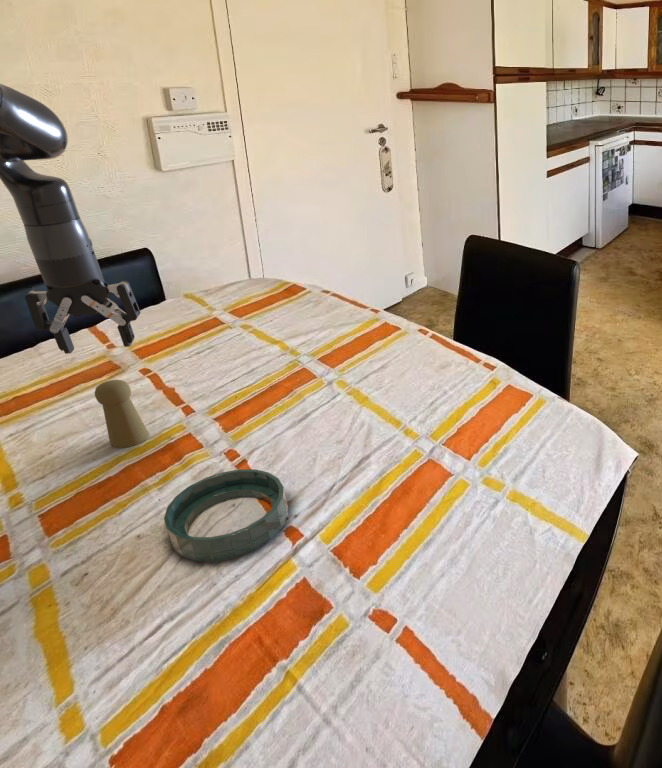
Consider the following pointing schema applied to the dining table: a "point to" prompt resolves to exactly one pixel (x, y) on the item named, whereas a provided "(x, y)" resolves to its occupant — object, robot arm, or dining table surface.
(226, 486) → the green faceted band
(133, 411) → the cork
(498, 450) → the dining table surface
